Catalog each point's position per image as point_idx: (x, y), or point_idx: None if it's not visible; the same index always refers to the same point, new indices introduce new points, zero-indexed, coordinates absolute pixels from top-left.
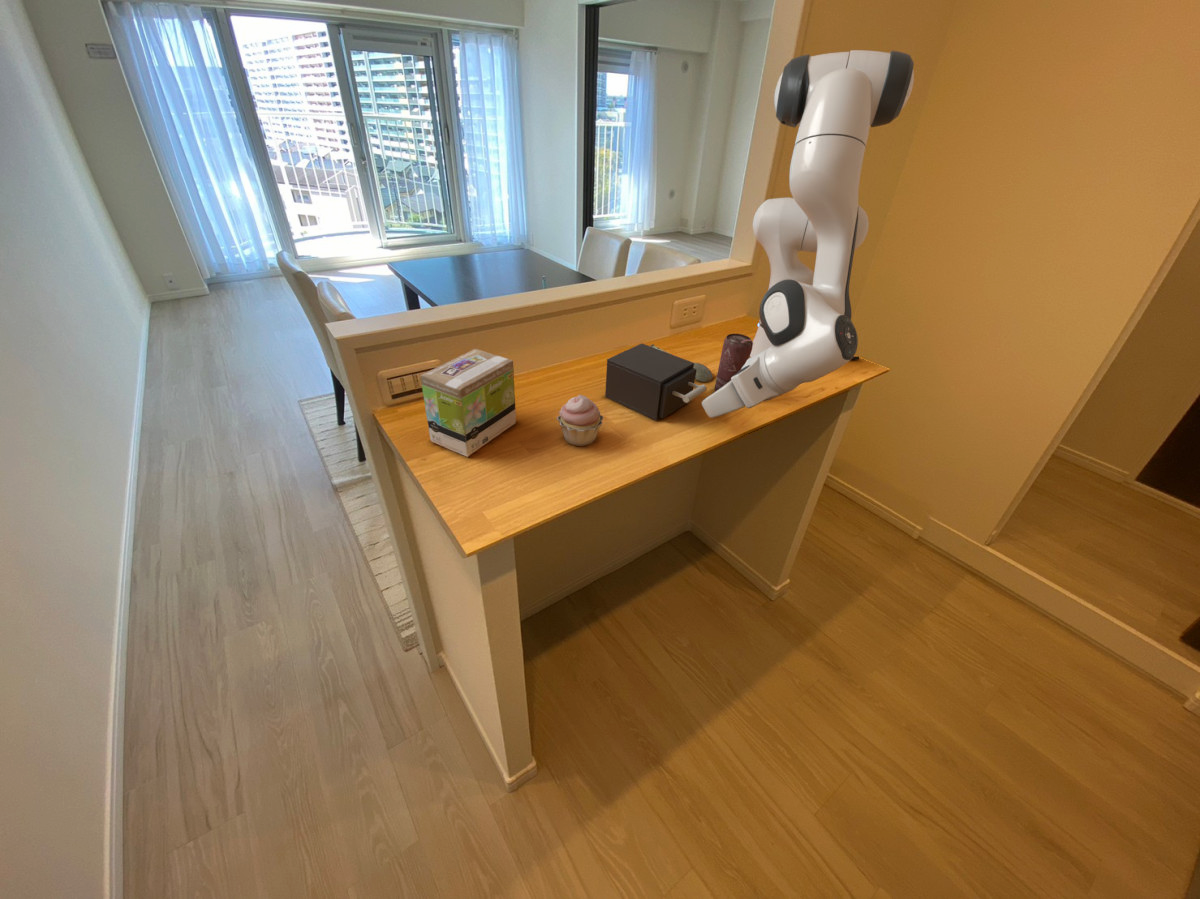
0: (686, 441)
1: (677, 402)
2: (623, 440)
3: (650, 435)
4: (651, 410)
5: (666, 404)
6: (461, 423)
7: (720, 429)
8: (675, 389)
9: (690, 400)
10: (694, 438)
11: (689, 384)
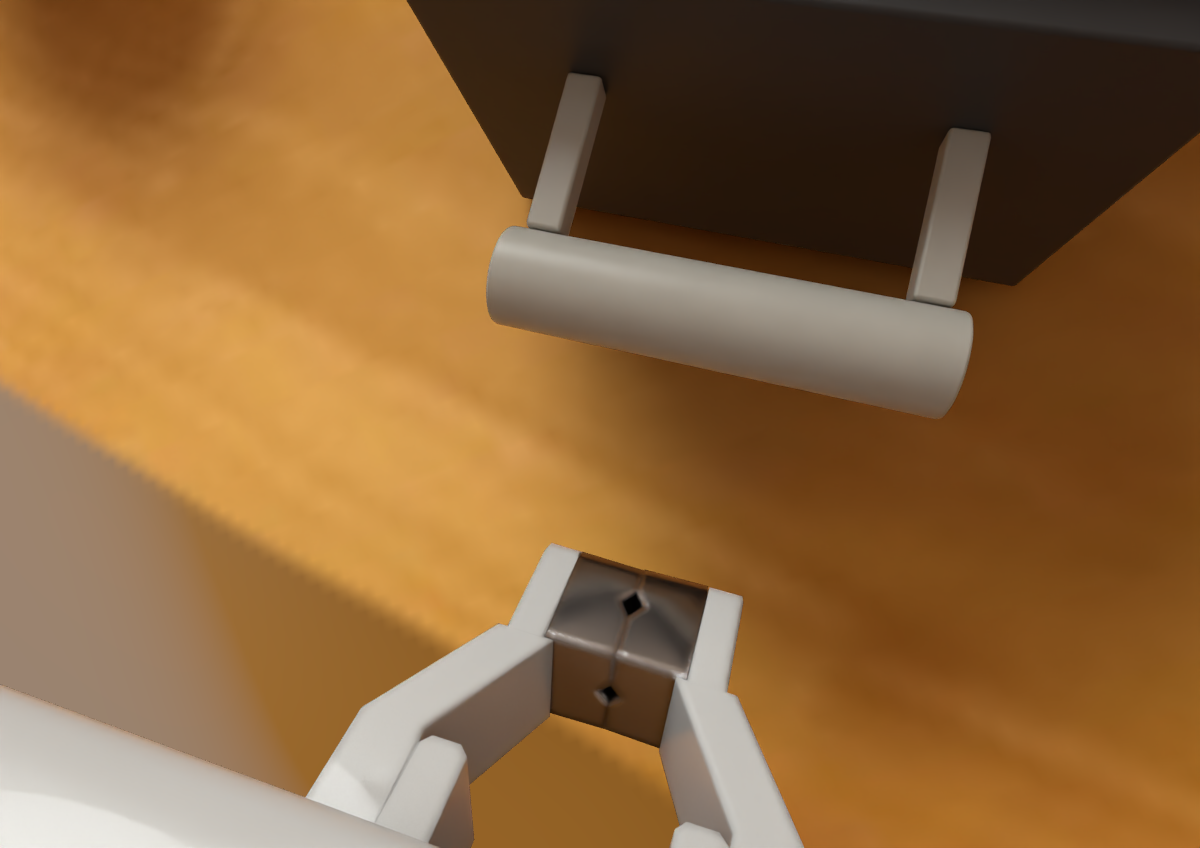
0: (362, 484)
1: (733, 200)
2: (182, 95)
3: (317, 218)
4: None
5: (513, 132)
6: None
7: None
8: (634, 74)
9: (539, 332)
10: (432, 528)
11: (939, 163)
